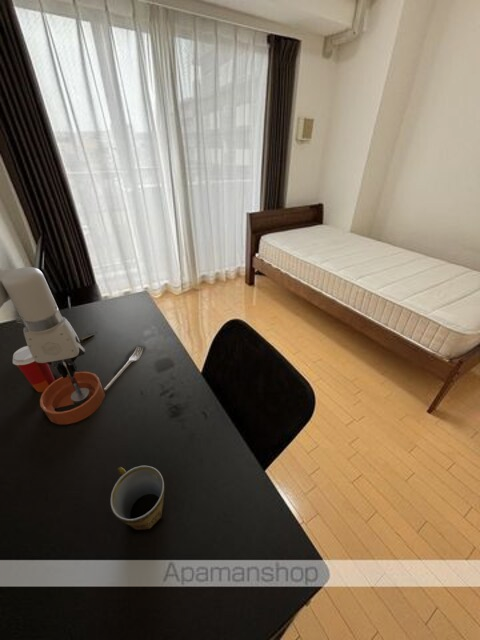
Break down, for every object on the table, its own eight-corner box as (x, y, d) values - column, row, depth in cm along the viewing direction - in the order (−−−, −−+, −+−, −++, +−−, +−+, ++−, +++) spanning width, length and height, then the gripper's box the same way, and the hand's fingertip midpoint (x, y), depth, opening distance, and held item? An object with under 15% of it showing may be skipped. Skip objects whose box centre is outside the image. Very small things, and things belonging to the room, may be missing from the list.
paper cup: (50, 373, 94) (32, 340, 86) (64, 382, 91) (47, 349, 83) (26, 389, 89) (4, 355, 80) (39, 399, 85) (18, 365, 77)
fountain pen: (55, 354, 101) (54, 351, 101) (54, 353, 102) (53, 350, 101) (95, 336, 110) (94, 333, 109) (94, 335, 110) (93, 332, 110)
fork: (100, 390, 88) (98, 386, 87) (137, 349, 104) (136, 345, 102) (109, 392, 87) (107, 388, 86) (145, 351, 103) (144, 347, 102)
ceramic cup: (180, 510, 61) (174, 488, 55) (139, 554, 55) (127, 534, 49) (146, 470, 68) (137, 447, 62) (107, 504, 62) (93, 482, 56)
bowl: (42, 433, 76) (32, 419, 72) (55, 391, 88) (47, 377, 84) (103, 419, 79) (96, 405, 76) (107, 380, 91) (102, 367, 88)
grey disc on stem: (71, 407, 82) (49, 367, 72) (74, 394, 86) (54, 354, 76) (90, 403, 83) (71, 363, 73) (92, 390, 87) (74, 350, 77)
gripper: (-1, 334, 63) (34, 390, 73) (76, 322, 66) (98, 377, 77) (11, 315, 69) (42, 370, 79) (81, 306, 72) (101, 359, 83)
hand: (69, 373), depth 78 cm, fingers closed on grey disc on stem, 1 cm apart
